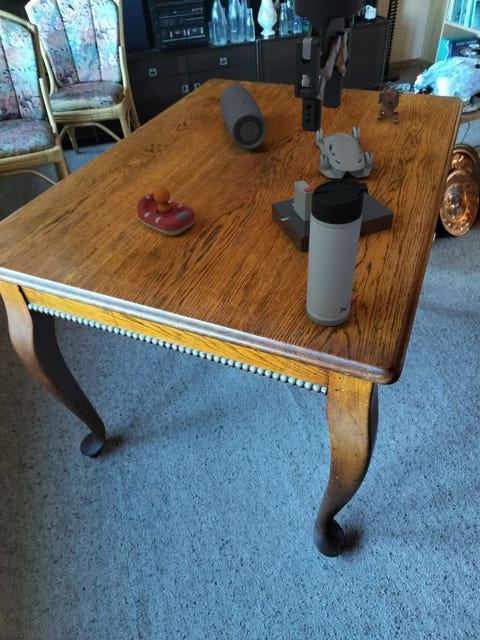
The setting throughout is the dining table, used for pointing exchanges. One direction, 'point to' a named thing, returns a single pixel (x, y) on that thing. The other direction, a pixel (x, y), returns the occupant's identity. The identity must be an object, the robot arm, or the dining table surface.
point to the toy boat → (164, 213)
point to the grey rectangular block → (303, 199)
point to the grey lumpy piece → (343, 155)
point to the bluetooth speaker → (242, 117)
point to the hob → (298, 230)
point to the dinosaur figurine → (389, 102)
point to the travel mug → (333, 249)
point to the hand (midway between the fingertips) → (321, 118)
